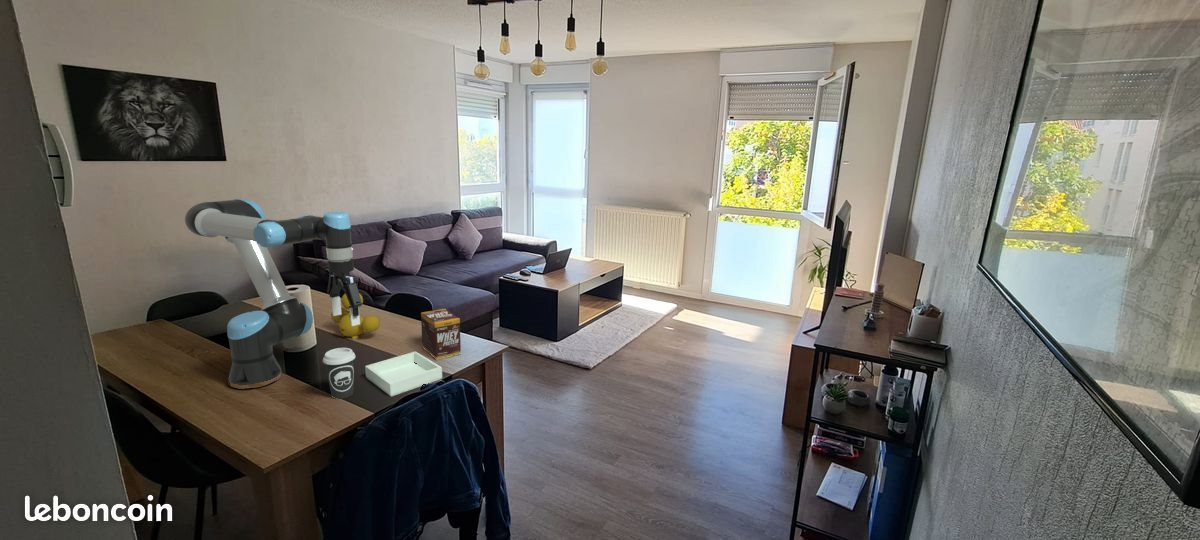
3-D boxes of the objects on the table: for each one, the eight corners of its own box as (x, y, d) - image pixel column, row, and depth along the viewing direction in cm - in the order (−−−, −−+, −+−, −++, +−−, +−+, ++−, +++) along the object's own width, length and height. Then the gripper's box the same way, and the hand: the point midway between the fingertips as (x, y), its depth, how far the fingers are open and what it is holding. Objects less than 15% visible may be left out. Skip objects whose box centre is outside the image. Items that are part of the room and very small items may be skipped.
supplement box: (436, 361, 190) (434, 323, 186) (422, 347, 201) (420, 312, 197) (461, 354, 196) (460, 318, 193) (446, 342, 208) (445, 307, 204)
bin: (390, 396, 162) (390, 384, 161) (366, 377, 174) (365, 366, 173) (442, 378, 176) (441, 367, 175) (415, 362, 188) (415, 351, 187)
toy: (322, 333, 211) (317, 289, 206) (343, 326, 220) (339, 283, 215) (363, 346, 200) (360, 300, 195) (384, 338, 209) (381, 294, 204)
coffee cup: (364, 388, 167) (361, 348, 163) (347, 402, 157) (343, 359, 154) (338, 386, 167) (334, 345, 164) (319, 399, 158) (315, 357, 154)
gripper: (370, 264, 156) (375, 326, 161) (335, 251, 171) (340, 308, 176) (346, 268, 150) (352, 332, 155) (312, 254, 165) (318, 313, 170)
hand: (346, 320), depth 166 cm, fingers open, 13 cm apart
